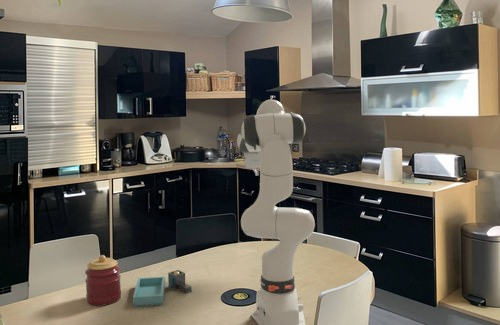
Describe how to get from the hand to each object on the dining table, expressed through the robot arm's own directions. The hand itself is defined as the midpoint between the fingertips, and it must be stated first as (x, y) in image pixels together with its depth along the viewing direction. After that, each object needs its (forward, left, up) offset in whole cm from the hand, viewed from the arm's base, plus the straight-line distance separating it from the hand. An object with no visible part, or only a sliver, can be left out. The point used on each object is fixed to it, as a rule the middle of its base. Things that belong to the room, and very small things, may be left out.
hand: (266, 174), depth 214 cm
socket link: (-27, +41, -43) cm, 65 cm away
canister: (-32, +71, -43) cm, 89 cm away
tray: (-31, +53, -43) cm, 75 cm away
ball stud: (-24, +43, -43) cm, 65 cm away
